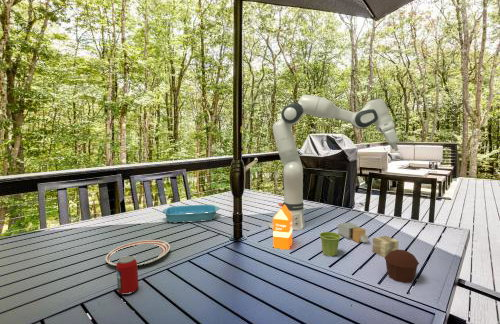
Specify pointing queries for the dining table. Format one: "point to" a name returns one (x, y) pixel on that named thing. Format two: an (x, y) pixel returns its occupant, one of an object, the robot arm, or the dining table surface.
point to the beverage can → (127, 274)
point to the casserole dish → (199, 212)
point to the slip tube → (358, 234)
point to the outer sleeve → (346, 230)
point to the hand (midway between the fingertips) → (395, 149)
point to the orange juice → (282, 229)
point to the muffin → (401, 266)
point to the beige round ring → (162, 244)
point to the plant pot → (330, 243)
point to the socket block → (384, 245)
